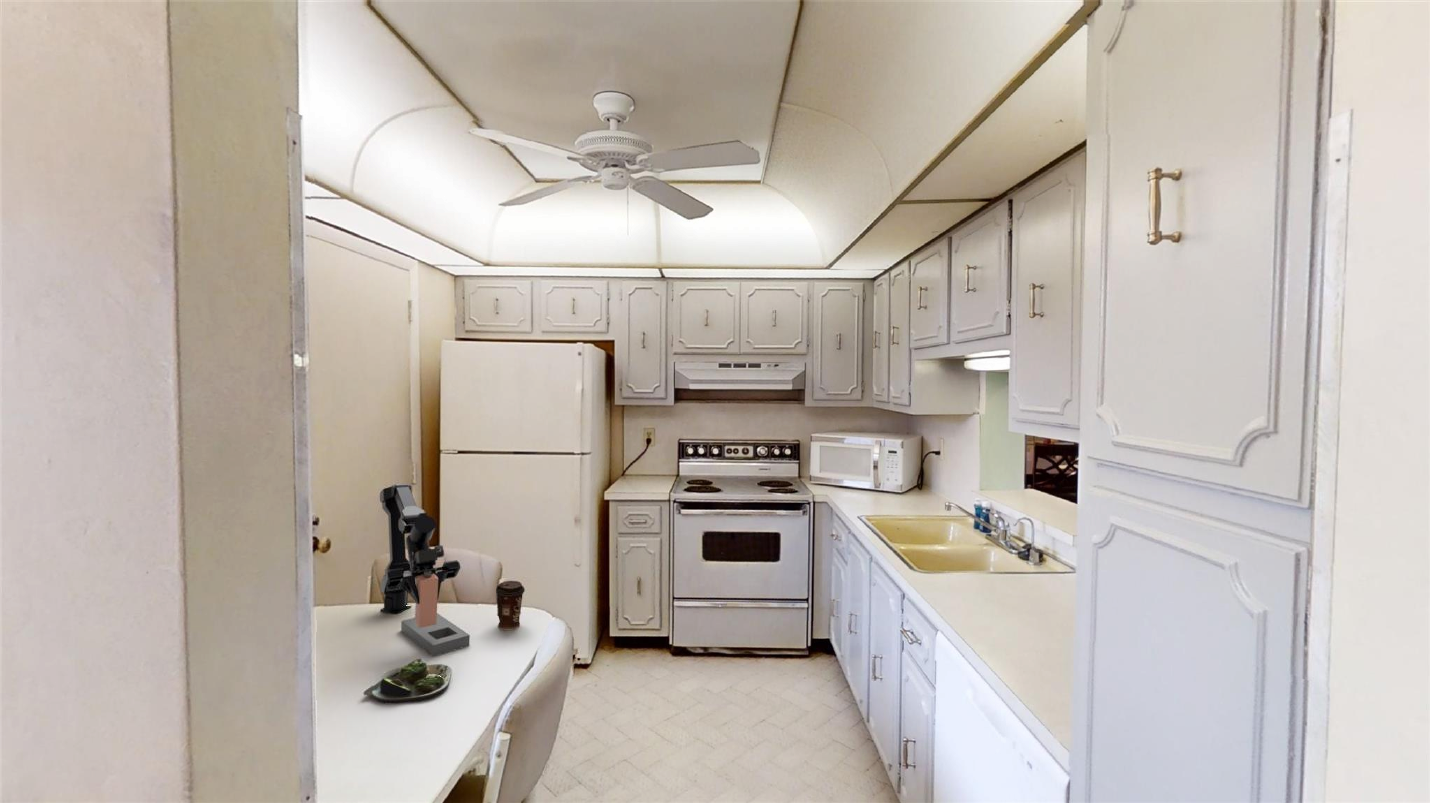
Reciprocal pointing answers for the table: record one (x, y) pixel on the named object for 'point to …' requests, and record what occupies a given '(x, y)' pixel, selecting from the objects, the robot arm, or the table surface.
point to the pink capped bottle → (426, 600)
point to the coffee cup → (509, 604)
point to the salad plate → (411, 683)
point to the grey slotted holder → (436, 635)
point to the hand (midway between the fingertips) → (427, 601)
